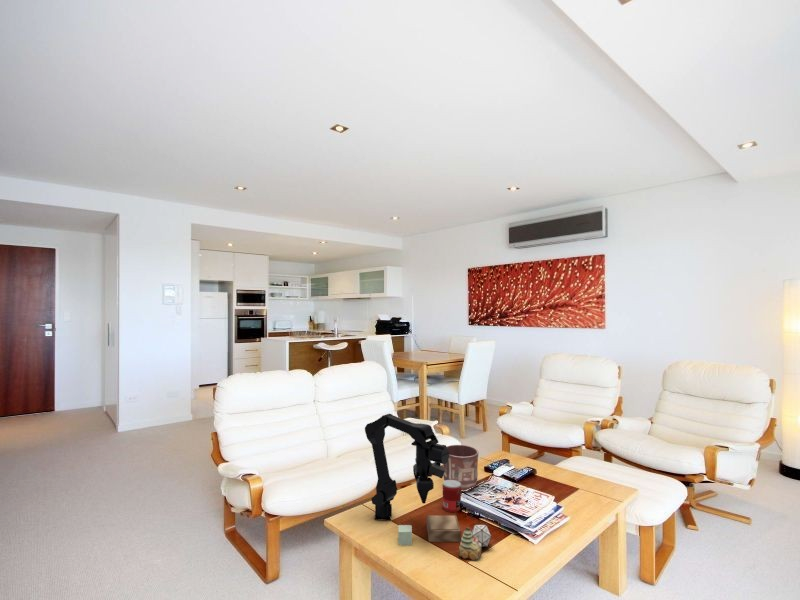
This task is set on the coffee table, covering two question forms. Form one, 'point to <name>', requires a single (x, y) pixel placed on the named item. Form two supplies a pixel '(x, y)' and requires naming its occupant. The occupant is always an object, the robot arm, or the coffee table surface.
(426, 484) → the robot arm
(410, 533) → the sage block
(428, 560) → the coffee table surface
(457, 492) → the canned food
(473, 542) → the ornament
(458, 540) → the pedestal
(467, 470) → the pottery
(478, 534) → the game die
